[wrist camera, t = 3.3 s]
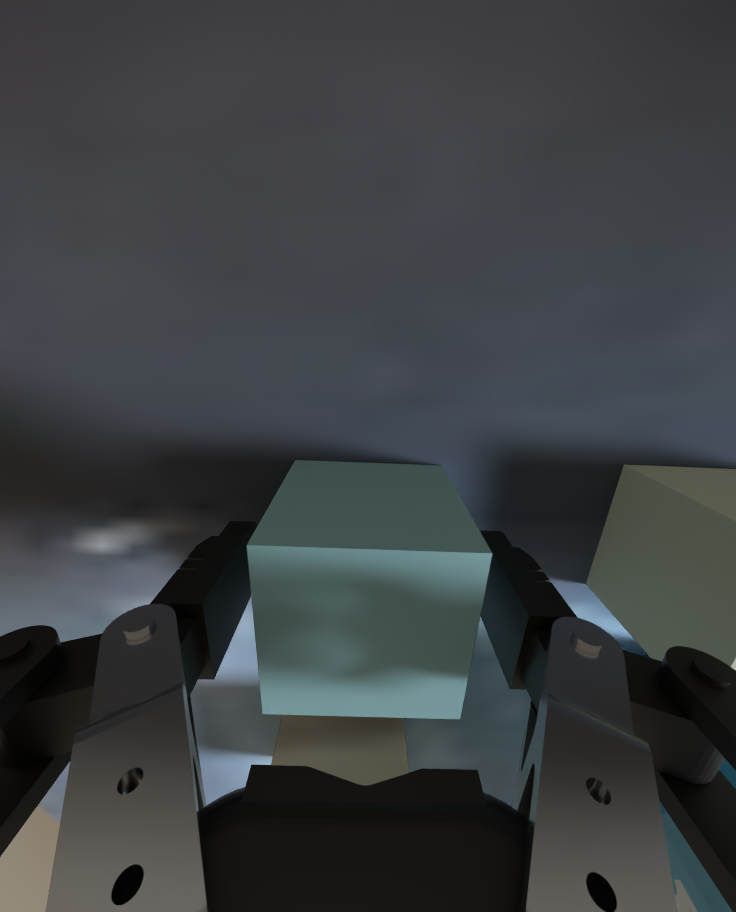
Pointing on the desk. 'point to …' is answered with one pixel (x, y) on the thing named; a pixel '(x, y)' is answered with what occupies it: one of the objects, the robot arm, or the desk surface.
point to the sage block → (671, 559)
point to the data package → (692, 867)
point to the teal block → (366, 592)
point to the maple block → (344, 746)
